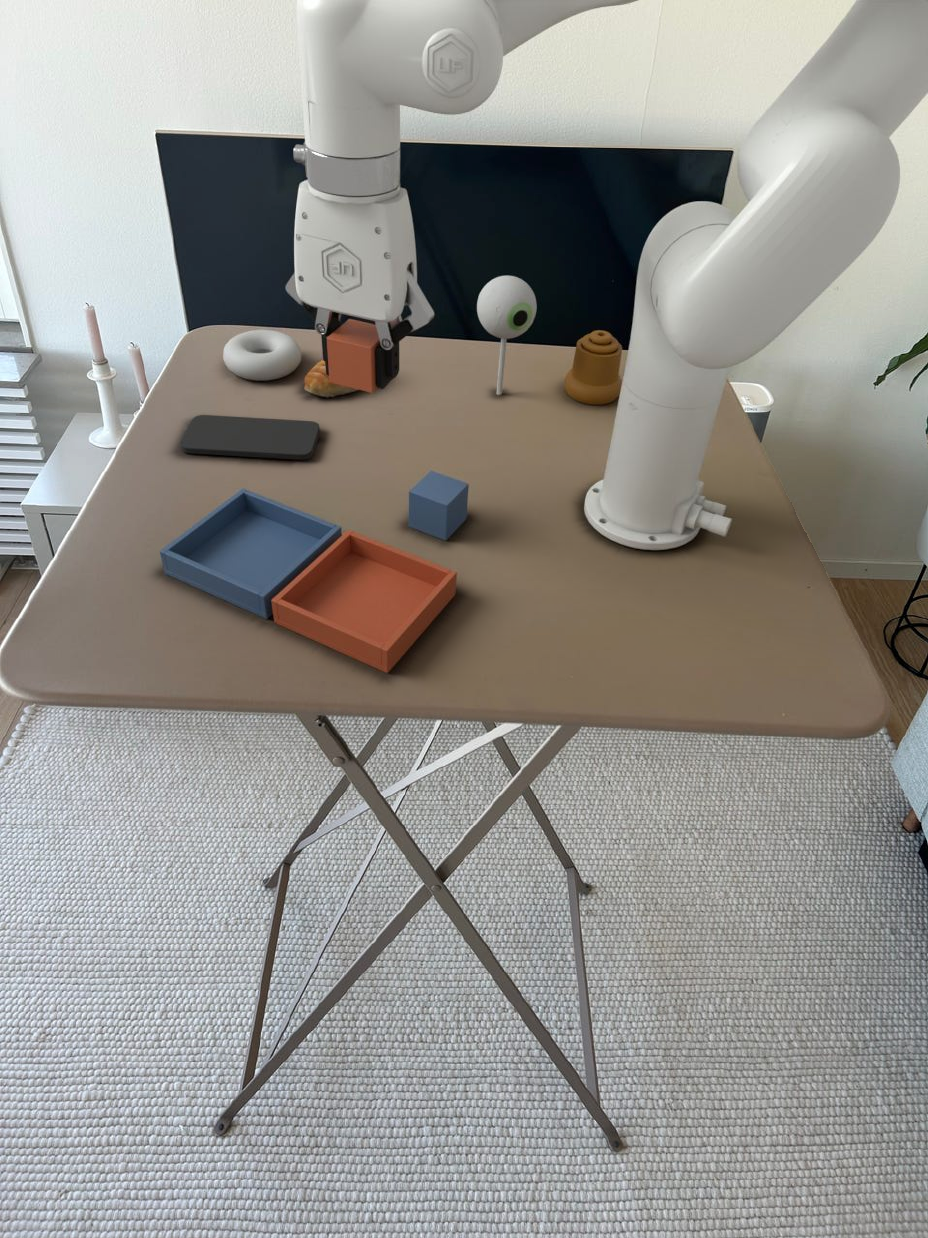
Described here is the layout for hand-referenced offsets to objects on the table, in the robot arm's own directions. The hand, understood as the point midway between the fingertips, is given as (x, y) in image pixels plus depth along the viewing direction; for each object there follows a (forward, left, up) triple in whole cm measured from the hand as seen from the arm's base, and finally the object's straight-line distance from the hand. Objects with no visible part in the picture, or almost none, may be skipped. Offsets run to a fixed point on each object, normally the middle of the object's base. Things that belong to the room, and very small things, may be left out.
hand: (361, 374), depth 84 cm
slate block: (-8, -1, -15) cm, 17 cm away
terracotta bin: (-9, +14, -15) cm, 22 cm away
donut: (+28, -18, -15) cm, 37 cm away
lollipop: (-1, -29, -15) cm, 33 cm away
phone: (+18, -3, -15) cm, 24 cm away
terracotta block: (0, 0, 0) cm, 0 cm away
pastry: (+17, -20, -15) cm, 31 cm away
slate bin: (+4, +14, -15) cm, 21 cm away
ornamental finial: (-11, -36, -15) cm, 41 cm away
